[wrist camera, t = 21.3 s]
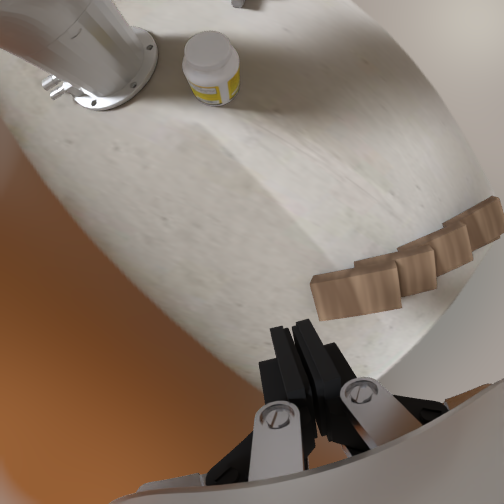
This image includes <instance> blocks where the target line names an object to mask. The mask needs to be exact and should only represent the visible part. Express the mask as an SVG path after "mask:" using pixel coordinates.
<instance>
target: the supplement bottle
mask: <svg viewBox="0 0 504 504" xmlns="http://www.w3.org/2000/svg"><path fill="white" fill-rule="evenodd" d="M184 54H185V56H184V58H183V62H182V68H183V72H184V75H185V77H186V79H187V81H188V83H189V85H190V87H191V89H192V91H193V93H194V95H195V96H196V98H197V99H198V100H199V101H200V102H202V103H203V104H206V105H209V106H220V105H224V104H226V103H228V102H230V101H231V100H232V99H234V97H235V96H236V95H237V93H238V91H239V87H240V61H239V55H238V53H237V51H236V50H235V48H234V47H233V46H232V45H231V43H230V41H229V39H228V38H227V37H226V36H225V35H224V34H222V33H220V32H216V31H204V32H200V33H198V34H196V35H194V36H193V37H191V38H190V39H189V40H188V42H187V43H186V45H185V48H184Z"/></svg>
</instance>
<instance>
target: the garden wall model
mask: <svg viewBox="0 0 504 504" xmlns="http://www.w3.org/2000/svg"><path fill="white" fill-rule="evenodd" d="M244 2H245V0H232V5H233V7H238V8H241V7H242V6H243V4H244Z"/></svg>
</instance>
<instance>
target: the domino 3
mask: <svg viewBox="0 0 504 504" xmlns="http://www.w3.org/2000/svg"><path fill="white" fill-rule="evenodd" d="M427 244H429V245H430V247H431V248H432V249H433V250H434V257H435V267H436V277H438V276H440V275H442V274H445V273H447V272H449V271H451V270H453V269H456V268H458V267H460V266H462V265H464V264H466V263H468V262H470V261H472V260H473V256H472V250H471V245H470V240H469V236H468V231H467V227H466V225H465V224H463V223H462V222H460V221H458V222H456V223H453V224H451V225H449V226H447V227H445V228H442V229H440V230H438V231H436V232H433V233H431V234H429V235H426V236H424V237H422V238H419V239H417V240H415V241H412V242H410V243H408V244H405V245H403V246H401V247H398V248H397V250H398V251H403V250H407V249H411V248H415V247H419V246H423V245H427Z"/></svg>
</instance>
